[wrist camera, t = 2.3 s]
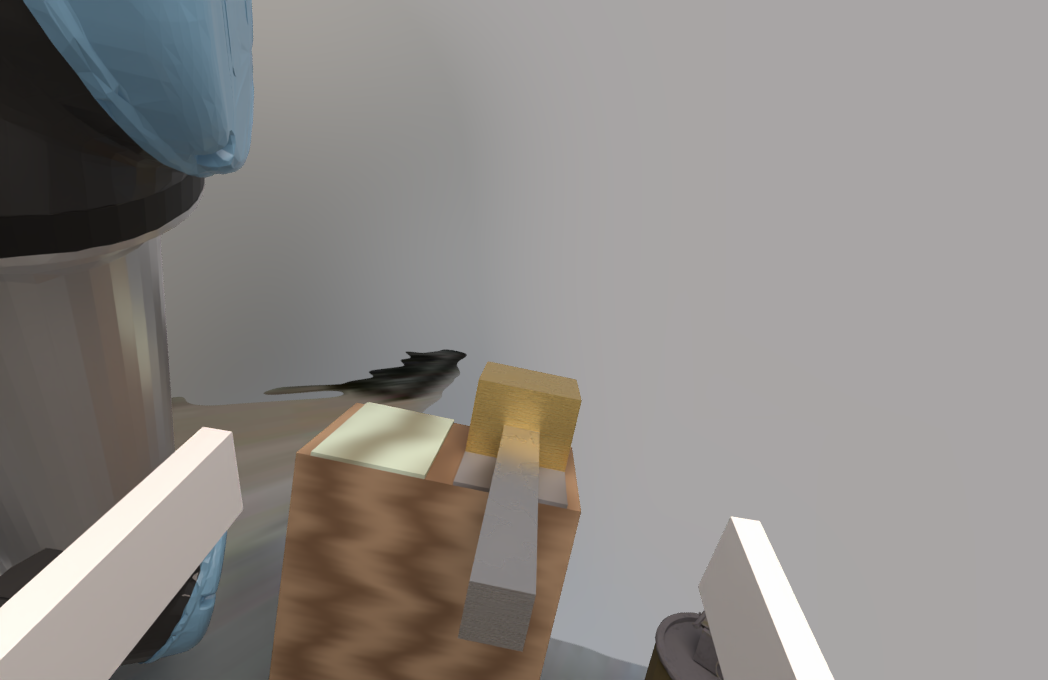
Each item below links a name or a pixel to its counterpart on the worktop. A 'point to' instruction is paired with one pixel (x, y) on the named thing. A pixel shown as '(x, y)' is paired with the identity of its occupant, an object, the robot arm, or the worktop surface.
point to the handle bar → (513, 493)
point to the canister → (684, 650)
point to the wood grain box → (403, 554)
